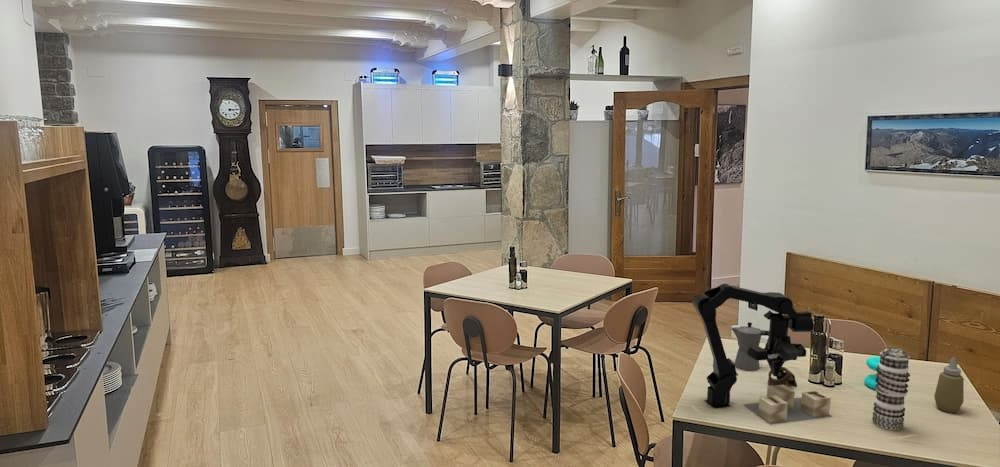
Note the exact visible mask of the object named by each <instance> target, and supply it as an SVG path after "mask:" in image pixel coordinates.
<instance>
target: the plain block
mask: <svg viewBox="0 0 1000 467" xmlns="http://www.w3.org/2000/svg"><path fill="white" fill-rule="evenodd" d="M766 391H767V392H766V397H768V396H777V397H779V398H780V399H782V400H783V401H785V402H787V403H788V407H787V410H788V409H793V408H794V398H795V395H796V393H795V391H794V390H793V389H791V388H790V387H788V386H787V385H776V386H772V385H768V386H767V388H766Z"/></svg>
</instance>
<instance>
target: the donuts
mask: <svg viewBox="0 0 1000 467" xmlns="http://www.w3.org/2000/svg"><path fill="white" fill-rule="evenodd" d="M880 357H881V356H870V357H868V358H867V359H866V360H865V364H866V366H867V367H868V368H869V369H870V370H872V371H874V372H877V371H876V367H877V366H878V365H879V362H880ZM879 371H880V369H879ZM876 374H877V373H874V374H873V373H871V374H868V375H867V376H865V377H864V379H863V380H864V384H865V385H866V386H867V387H869V389H870V388H871V389H872V390H876V386H875V385H876V384H877V382H876ZM878 381H879V380H878ZM876 391H877V390H876Z"/></svg>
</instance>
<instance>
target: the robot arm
mask: <svg viewBox="0 0 1000 467" xmlns="http://www.w3.org/2000/svg"><path fill="white" fill-rule="evenodd" d="M729 299H732V300H733V299H734V300H738V301H742V302H746V303H750V304H755V305H759V306H763V307H765V308H766V309H769V310H768V312H766V313H765V314H763V317H764V318H765V319H766V320H768V321H769V327H768V329H769V330H768V331H769V332H767V333H766V335H765V336H768V338H769V340H768V339H767V340H768V344H766V343H765V345H766V346H764V348H765V347H767V348H768V349H765V350H764V348H762V347H761V346H760V345H759V346H757V347H749V348H748V351H747V355H749V356H750V357H752V358H754V359H755V360H758V361H759V362H760V361H766V362H767V364H768V366H769V369H770V370H771V372H772V374H771V375H772V377H776V376H777V375H778V373H779V371H780V369H781V367H783V365H784V364H785V362H789V361H797V360H798V359H797V358H802V357H807V349H806V348H805V347H804V345H803V344H802V343H796V342H795V343H794V342H793V343H792V342H791V336H789V330H791V332H792V333H812V332H813V331H814V328H815V324H814V319H813V317H812V315H813V314H812V312H810V311H808V310H804V311H796V310H795V308H794V307H793V306H794V304H793V301H792V299H791V298H789V297H788V296H786V295H785V294H784V293H782V292H776V291H775V292H773V291H772V292H771V291H768V292H761V291H758V290H757V291H756V290H753V289H749V288H748V289H747V288H743V287H739V286H736V285H735V286H734V285H731V284H728V283H722V284H720V285H719V286H716V287H714V288H710V289H707V290H705V291H704V292H702V293H701V292H699V293H697V294H696V295H695V296H694V297H693V298H692V300H691V301H692V305H693V307H694V309H695V311H696V313H697V315H698V317H699V318H700V320H701V322H702V324H703V328H704V332H705V334H706V338H707V341H708V344H709V348H710V351H711V355H712V358H713V360H712V361H713V362H712V369H713V371H711V373H710V374H709V375H707V376H706V381H707V383H708V384H709V386H707V393H706V399H704V402H705V403H707V404H708V405H709V406H710V407H711V408H713V409H722V408H723V409H724V408H730V407H732V405H731V404H730V400H731V399H730V397H731V390H732V387H733V386H735V384H736V383H737V381H738V377H739V373H738V372H737V370H736V368H737V367H736V366H735V362H733V361H732V360H731V358H729V357H728V358H727V355H726V352H725V348H724V345H723V341H722V338H721V334H720V331H719V328H718V324H717V308H719V307H721V306H722V305H723V304H724V303H725V302H726V301H727V300H729ZM737 376H738V377H737Z"/></svg>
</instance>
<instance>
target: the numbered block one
mask: <svg viewBox="0 0 1000 467" xmlns="http://www.w3.org/2000/svg"><path fill="white" fill-rule="evenodd" d="M758 400H759V402H758V403H759V412H758V415H759V416H761V417H762V418H764V419H765V420H766V421H768V422H769V423H774V422H782V421H786V420H787V407H788V403H787V402H785V401H783V400H782V399H780V398H779V397H777V396H768V397H767V396H761V397H759V399H758ZM758 415H757V416H758ZM759 416H758V417H759ZM762 418H761V419H762ZM765 420H764V421H765ZM766 421H765V422H766ZM769 423H768V424H769Z"/></svg>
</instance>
